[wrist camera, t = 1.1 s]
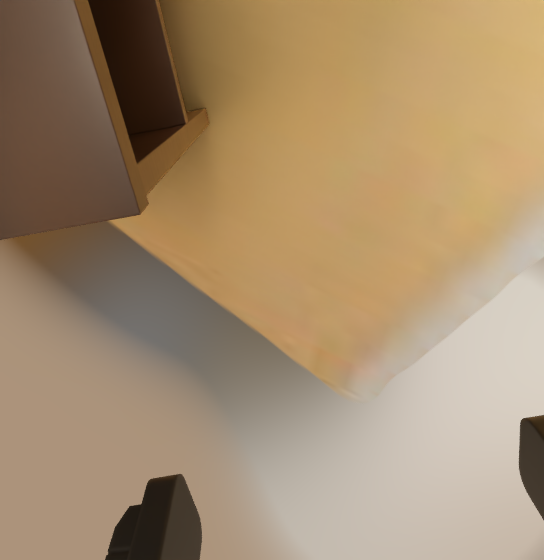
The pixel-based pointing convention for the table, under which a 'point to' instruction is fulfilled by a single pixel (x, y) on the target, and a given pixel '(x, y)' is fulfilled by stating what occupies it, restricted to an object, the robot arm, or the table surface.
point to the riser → (85, 112)
